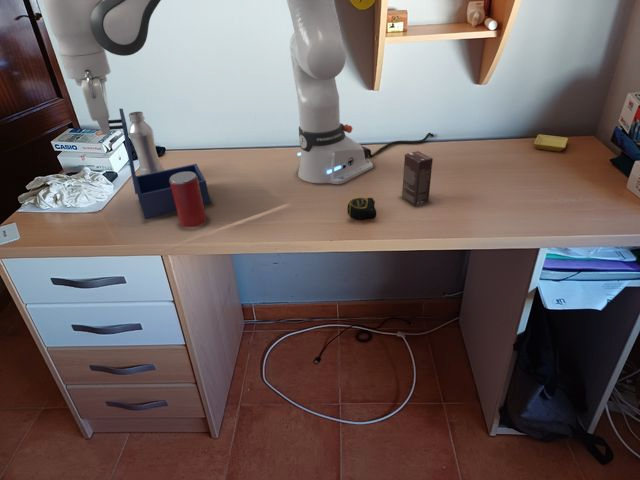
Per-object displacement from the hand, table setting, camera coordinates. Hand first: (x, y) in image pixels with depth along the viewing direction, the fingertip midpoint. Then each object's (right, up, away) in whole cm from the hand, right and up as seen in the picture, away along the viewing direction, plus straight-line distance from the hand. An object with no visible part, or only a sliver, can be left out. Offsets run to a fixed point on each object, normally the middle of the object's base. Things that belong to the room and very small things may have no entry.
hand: (106, 128), depth 104 cm
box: (+74, -16, +10) cm, 77 cm away
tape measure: (+61, -20, +5) cm, 64 cm away
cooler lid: (+4, -4, +5) cm, 7 cm away
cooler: (+11, -16, +16) cm, 25 cm away
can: (+19, -22, +6) cm, 29 cm away
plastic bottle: (0, -8, +29) cm, 30 cm away
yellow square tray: (+121, +3, +35) cm, 126 cm away
